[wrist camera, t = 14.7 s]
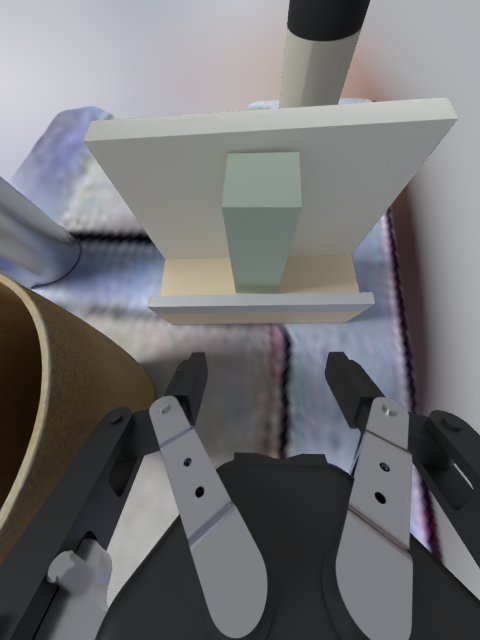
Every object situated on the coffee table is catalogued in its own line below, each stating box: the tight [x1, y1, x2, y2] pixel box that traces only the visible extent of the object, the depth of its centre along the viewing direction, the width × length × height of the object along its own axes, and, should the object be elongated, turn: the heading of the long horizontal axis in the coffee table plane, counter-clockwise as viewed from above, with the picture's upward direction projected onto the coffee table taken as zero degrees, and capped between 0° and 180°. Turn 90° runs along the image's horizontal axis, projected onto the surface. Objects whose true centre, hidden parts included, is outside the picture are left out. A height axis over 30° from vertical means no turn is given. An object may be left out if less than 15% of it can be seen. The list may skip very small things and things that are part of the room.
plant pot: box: [0, 273, 155, 565], centre depth 15 cm, size 15×15×16 cm
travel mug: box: [279, 0, 370, 109], centre depth 25 cm, size 8×8×18 cm
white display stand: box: [84, 98, 458, 324], centre depth 18 cm, size 9×22×16 cm, turn 90°
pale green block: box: [222, 152, 302, 294], centre depth 17 cm, size 4×4×11 cm
